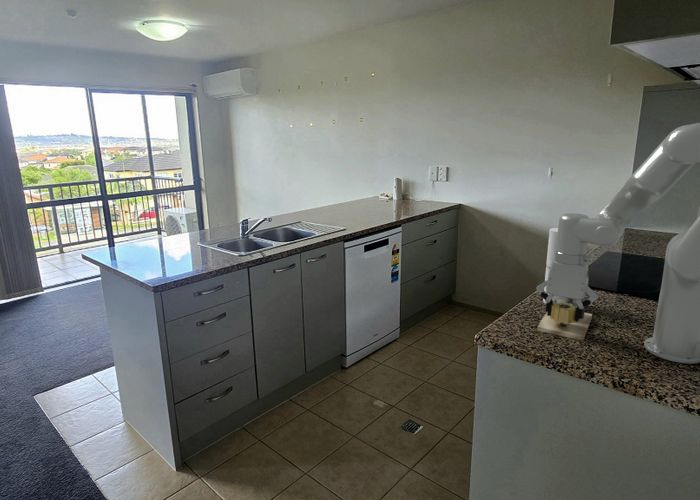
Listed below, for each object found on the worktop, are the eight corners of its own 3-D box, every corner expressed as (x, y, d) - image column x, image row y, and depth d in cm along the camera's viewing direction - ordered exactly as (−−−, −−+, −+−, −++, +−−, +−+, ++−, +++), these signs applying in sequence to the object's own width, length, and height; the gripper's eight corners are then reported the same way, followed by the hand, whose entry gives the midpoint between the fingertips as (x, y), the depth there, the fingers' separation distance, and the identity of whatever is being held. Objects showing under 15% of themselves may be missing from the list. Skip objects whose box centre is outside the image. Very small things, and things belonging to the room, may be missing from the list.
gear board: (591, 317, 131) (594, 295, 129) (583, 340, 117) (586, 316, 115) (549, 309, 138) (551, 289, 136) (537, 330, 124) (539, 307, 122)
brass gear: (577, 317, 124) (578, 304, 123) (573, 325, 119) (575, 312, 118) (552, 312, 128) (554, 300, 127) (548, 320, 123) (549, 307, 122)
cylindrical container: (546, 296, 149) (552, 226, 143) (568, 301, 145) (576, 229, 138) (540, 303, 144) (546, 230, 137) (563, 307, 139) (571, 233, 133)
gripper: (607, 259, 117) (598, 319, 121) (539, 250, 126) (534, 306, 131) (604, 266, 111) (595, 329, 115) (533, 256, 121) (528, 315, 125)
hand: (563, 316), depth 123 cm, fingers closed on brass gear, 6 cm apart
